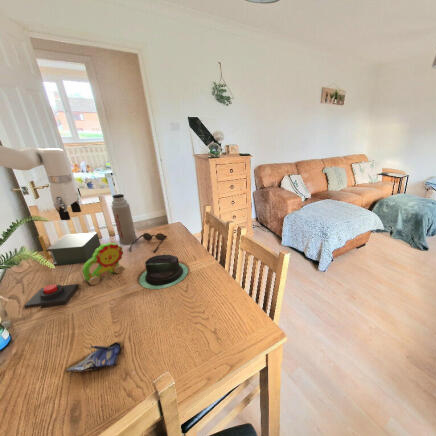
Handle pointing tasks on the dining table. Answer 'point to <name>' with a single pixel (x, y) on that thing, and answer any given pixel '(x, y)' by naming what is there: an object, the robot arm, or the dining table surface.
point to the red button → (50, 289)
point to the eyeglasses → (149, 237)
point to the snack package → (98, 358)
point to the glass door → (45, 249)
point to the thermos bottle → (123, 220)
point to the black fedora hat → (162, 272)
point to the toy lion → (103, 262)
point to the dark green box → (74, 248)
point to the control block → (53, 297)
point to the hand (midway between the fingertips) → (71, 215)
